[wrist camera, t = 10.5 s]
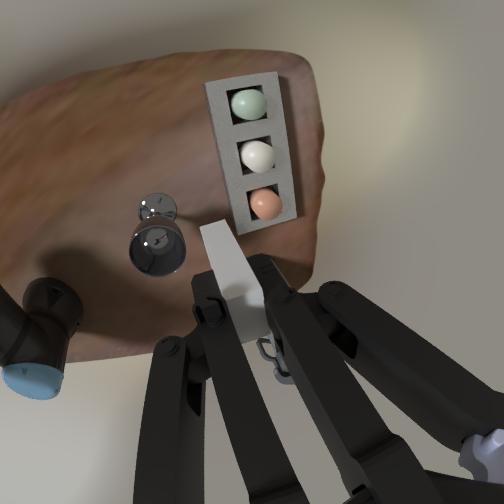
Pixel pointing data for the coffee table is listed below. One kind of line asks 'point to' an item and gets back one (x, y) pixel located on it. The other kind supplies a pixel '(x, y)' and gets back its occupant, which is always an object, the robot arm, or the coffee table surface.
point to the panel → (245, 130)
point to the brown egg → (265, 203)
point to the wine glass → (157, 238)
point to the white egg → (257, 155)
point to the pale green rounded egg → (248, 104)
